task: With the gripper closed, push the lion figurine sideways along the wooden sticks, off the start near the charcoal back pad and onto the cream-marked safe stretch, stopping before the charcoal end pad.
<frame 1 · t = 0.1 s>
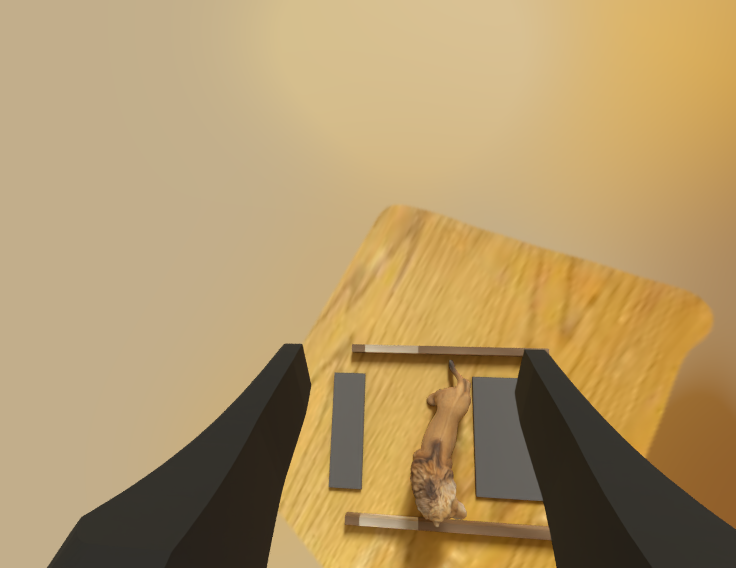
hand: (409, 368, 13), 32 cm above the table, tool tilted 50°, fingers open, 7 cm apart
wooden sticks: (445, 432, 42), on the table
lion figurine: (442, 432, 42), on the table
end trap: (348, 428, 43), on the table
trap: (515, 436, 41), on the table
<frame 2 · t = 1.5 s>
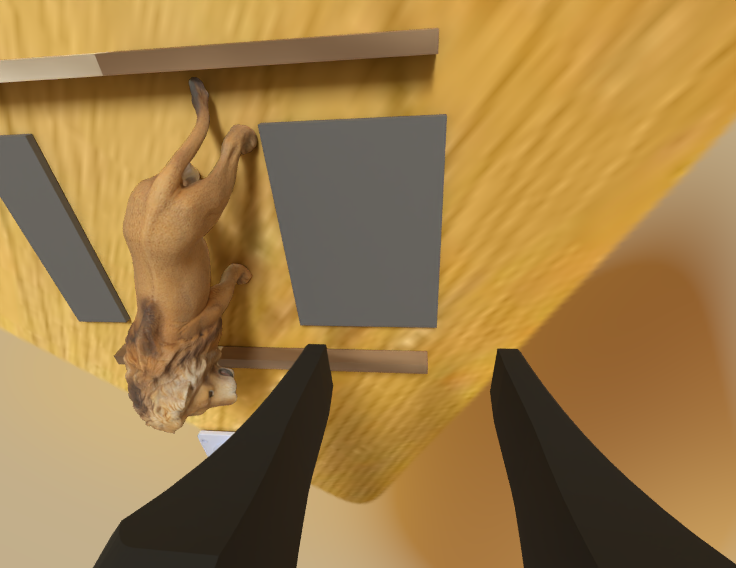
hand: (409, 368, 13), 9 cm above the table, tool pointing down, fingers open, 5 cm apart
wooden sticks: (233, 238, 22), on the table
lion figurine: (229, 231, 22), on the table
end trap: (61, 240, 23), on the table
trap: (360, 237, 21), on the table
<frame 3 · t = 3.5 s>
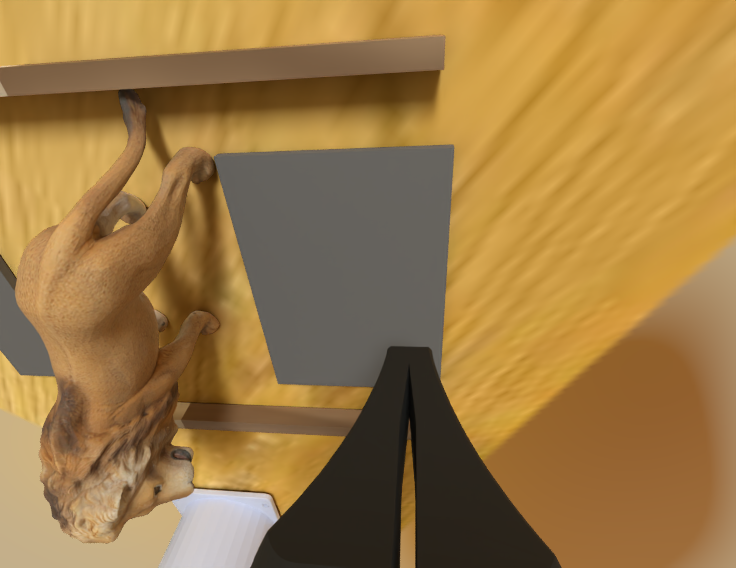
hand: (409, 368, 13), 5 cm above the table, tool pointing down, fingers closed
wooden sticks: (193, 287, 18), on the table
lion figurine: (190, 273, 18), on the table, touching wooden sticks
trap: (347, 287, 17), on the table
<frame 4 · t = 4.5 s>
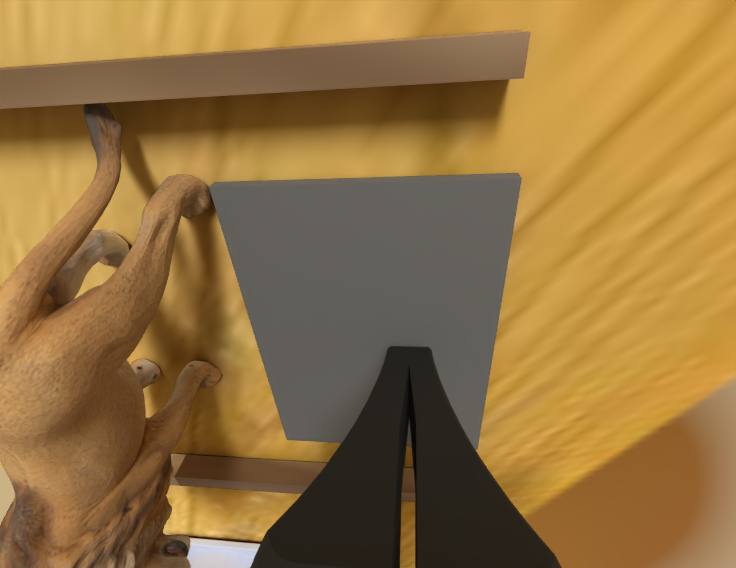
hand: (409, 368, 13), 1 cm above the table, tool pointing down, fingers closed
wooden sticks: (186, 334, 15), on the table
lion figurine: (185, 318, 15), on the table
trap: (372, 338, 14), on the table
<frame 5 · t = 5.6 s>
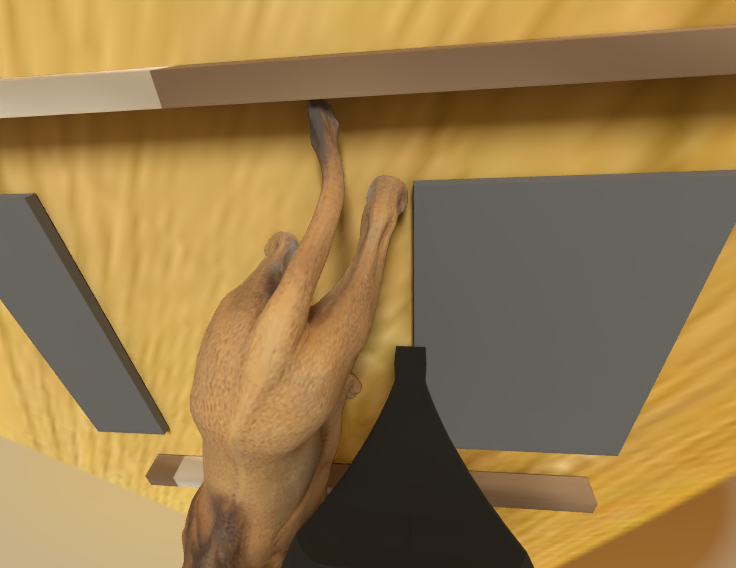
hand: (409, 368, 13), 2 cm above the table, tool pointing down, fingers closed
wooden sticks: (334, 338, 15), on the table
lion figurine: (335, 326, 14), on the table, touching gripper, wooden sticks
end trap: (77, 334, 16), on the table
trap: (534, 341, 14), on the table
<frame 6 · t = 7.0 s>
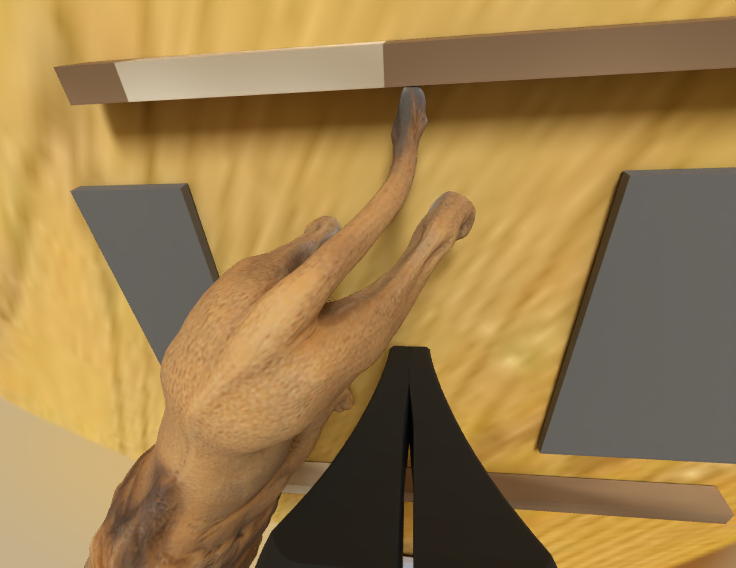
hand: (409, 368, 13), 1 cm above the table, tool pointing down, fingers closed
wooden sticks: (480, 340, 14), on the table
lion figurine: (349, 333, 13), point 1 cm above the table, touching gripper, wooden sticks
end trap: (195, 334, 15), on the table
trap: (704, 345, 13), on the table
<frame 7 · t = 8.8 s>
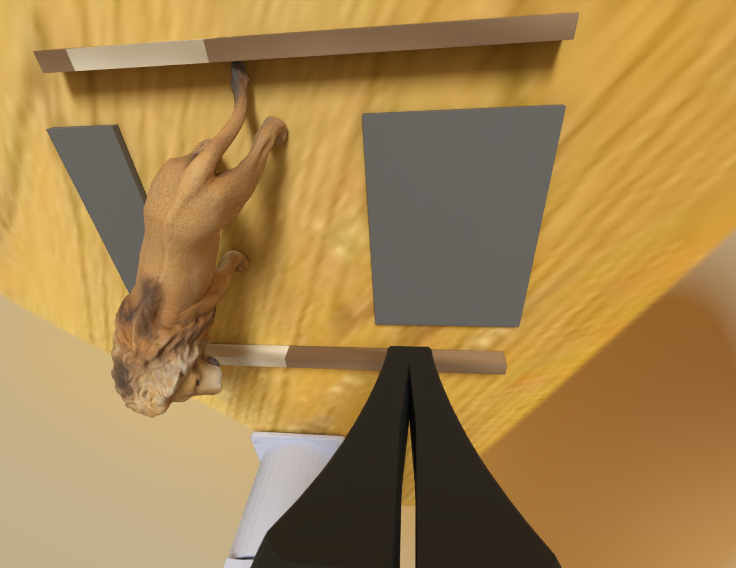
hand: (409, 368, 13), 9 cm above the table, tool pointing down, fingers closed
wooden sticks: (315, 234, 21), on the table
lion figurine: (236, 217, 21), on the table
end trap: (133, 235, 22), on the table
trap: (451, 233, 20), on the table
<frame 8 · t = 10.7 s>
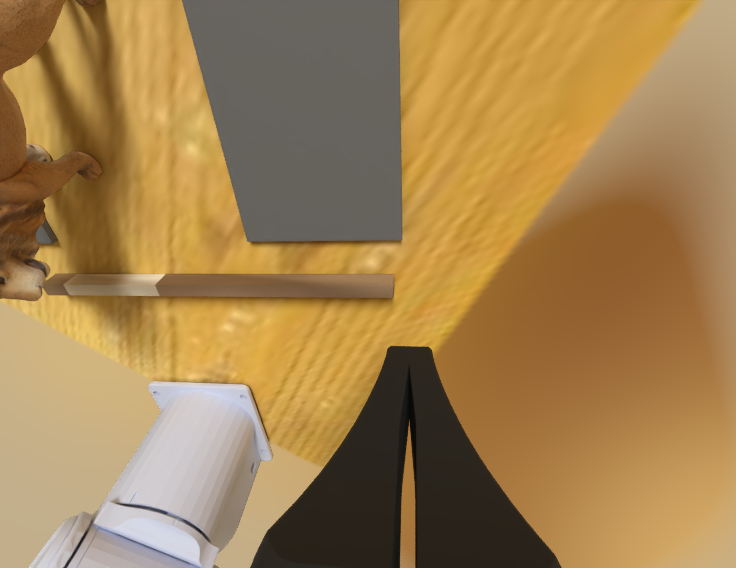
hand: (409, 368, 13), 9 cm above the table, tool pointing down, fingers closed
wooden sticks: (160, 127, 19), on the table
lion figurine: (76, 111, 19), on the table
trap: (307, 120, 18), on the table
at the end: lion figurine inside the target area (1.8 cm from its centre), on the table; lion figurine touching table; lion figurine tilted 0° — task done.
